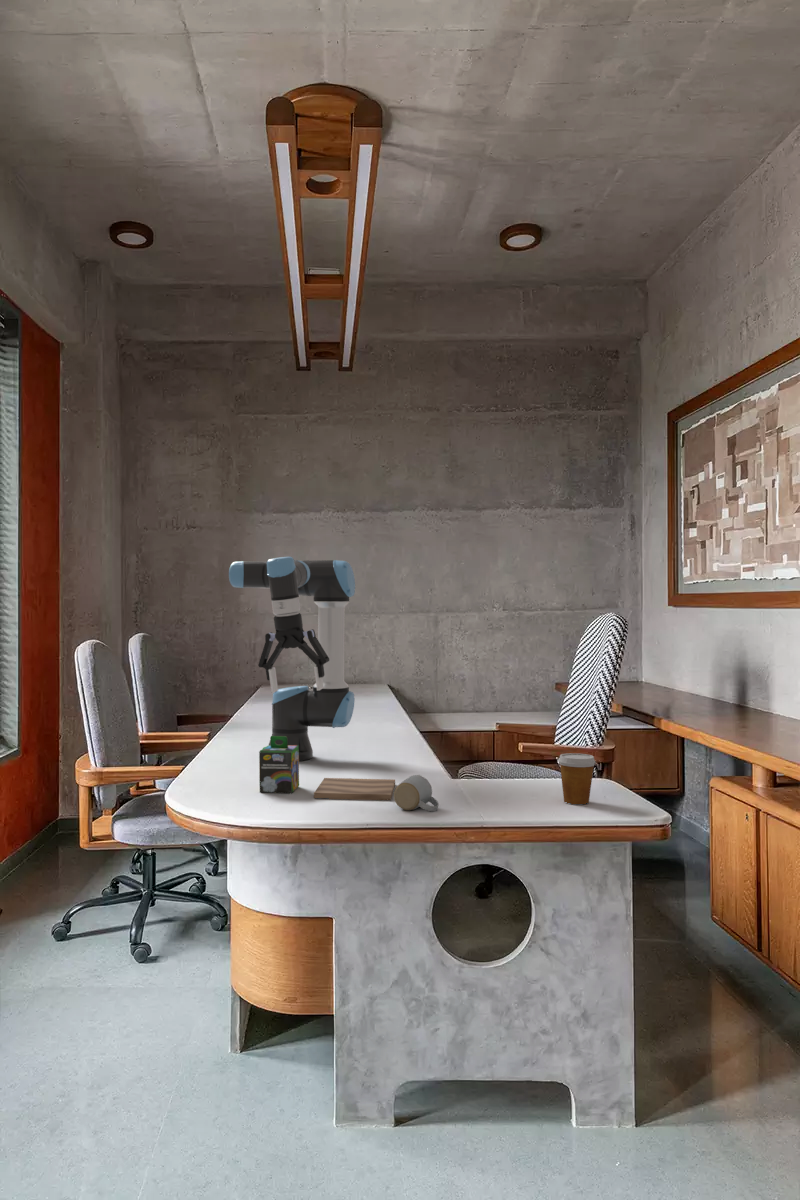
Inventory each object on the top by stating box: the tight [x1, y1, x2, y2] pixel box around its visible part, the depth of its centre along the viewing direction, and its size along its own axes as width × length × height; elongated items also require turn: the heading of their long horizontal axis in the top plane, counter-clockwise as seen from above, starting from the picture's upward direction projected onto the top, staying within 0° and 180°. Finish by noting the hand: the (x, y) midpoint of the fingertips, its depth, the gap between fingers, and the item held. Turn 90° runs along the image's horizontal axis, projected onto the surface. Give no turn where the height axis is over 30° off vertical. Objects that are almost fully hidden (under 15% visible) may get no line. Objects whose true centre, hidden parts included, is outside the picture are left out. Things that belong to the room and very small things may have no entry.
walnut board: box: [313, 777, 396, 801], centre depth 241 cm, size 20×20×2 cm
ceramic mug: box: [393, 774, 440, 813], centre depth 222 cm, size 11×8×8 cm
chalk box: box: [258, 735, 300, 794], centre depth 242 cm, size 9×9×15 cm
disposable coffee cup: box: [557, 752, 596, 805], centre depth 231 cm, size 10×10×12 cm
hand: (297, 690), depth 244 cm, fingers open, 13 cm apart
